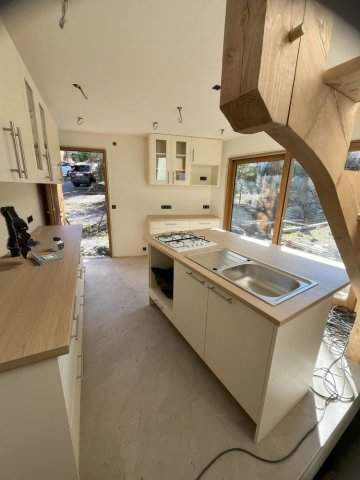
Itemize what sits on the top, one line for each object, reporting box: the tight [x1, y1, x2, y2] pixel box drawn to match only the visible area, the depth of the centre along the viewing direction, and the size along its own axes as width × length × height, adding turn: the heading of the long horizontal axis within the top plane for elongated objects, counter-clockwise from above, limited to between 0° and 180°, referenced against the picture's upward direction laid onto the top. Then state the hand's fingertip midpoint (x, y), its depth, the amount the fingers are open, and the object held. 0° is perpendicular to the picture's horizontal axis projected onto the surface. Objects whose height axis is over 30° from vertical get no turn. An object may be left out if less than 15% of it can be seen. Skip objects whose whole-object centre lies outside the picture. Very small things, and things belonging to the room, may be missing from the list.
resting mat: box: [37, 252, 63, 264], centre depth 166 cm, size 16×14×1 cm
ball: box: [19, 253, 30, 260], centre depth 153 cm, size 5×5×5 cm
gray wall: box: [30, 251, 44, 266], centre depth 158 cm, size 24×2×4 cm, turn 48°
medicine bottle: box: [50, 236, 65, 252], centre depth 184 cm, size 7×7×12 cm
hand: (24, 257), depth 153 cm, fingers closed on ball, 5 cm apart
